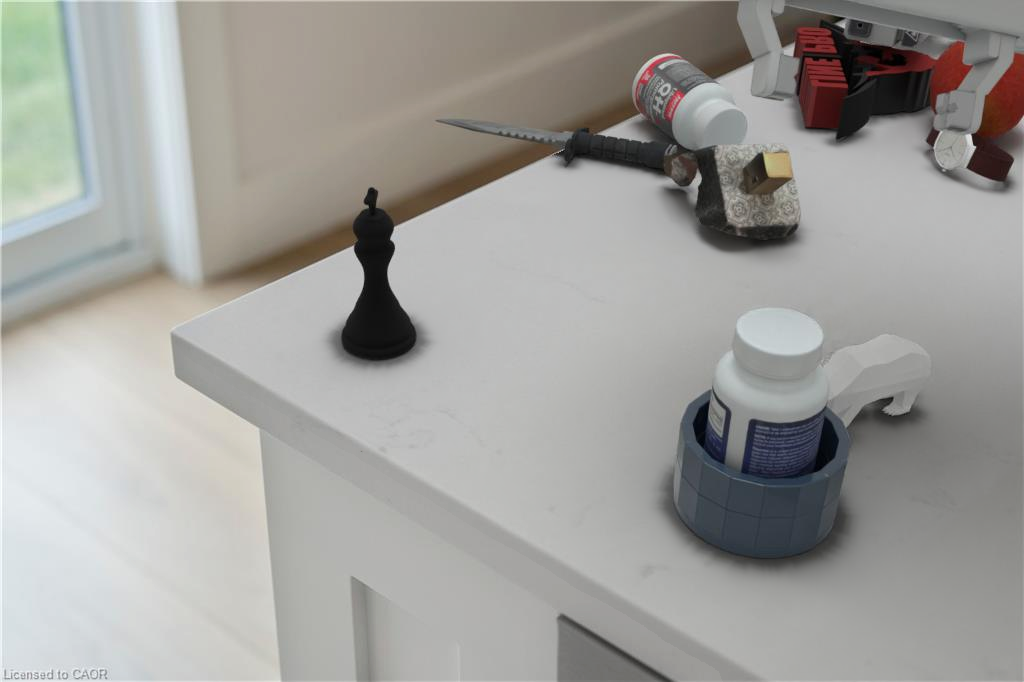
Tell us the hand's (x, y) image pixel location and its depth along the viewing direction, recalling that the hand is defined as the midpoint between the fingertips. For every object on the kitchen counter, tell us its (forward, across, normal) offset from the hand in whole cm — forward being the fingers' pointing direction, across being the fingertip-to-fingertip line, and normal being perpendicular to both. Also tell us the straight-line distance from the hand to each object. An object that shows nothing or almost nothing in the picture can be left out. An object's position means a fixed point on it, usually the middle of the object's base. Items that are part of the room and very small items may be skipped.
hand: (865, 115), depth 58 cm
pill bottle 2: (+19, -1, +4) cm, 19 cm away
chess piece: (+14, -19, +20) cm, 31 cm away
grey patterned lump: (+2, +5, +29) cm, 30 cm away
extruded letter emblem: (-12, +16, +44) cm, 48 cm away
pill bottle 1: (-9, +3, +42) cm, 43 cm away
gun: (-18, +32, +44) cm, 57 cm away
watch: (-7, +25, +30) cm, 40 cm away
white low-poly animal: (+14, +7, +9) cm, 18 cm away
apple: (-8, +26, +33) cm, 42 cm away
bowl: (+19, -1, +5) cm, 20 cm away
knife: (-4, -4, +42) cm, 42 cm away
